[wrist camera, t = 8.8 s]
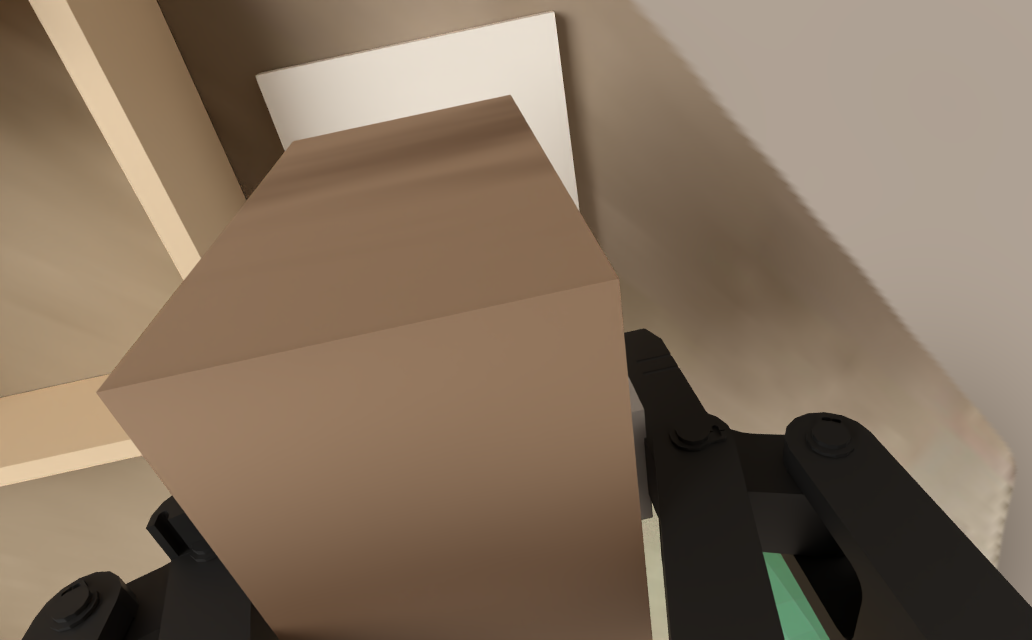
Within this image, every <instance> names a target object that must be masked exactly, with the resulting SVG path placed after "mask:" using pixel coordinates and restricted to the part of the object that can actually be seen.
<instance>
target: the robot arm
mask: <svg viewBox="0 0 1032 640" xmlns="http://www.w3.org/2000/svg"><path fill="white" fill-rule="evenodd" d="M624 338H625V349H626V360H627V370H628V381H629V392H630V403H631V414H632V424H633V435H634V446H635V457H636V468H637V478H638V489H639V500H640V511H641V520H643V519H647V518H652V517H653V515H652V504H653V506H654V508H655V511H656V513H657V516H658V518H659V528H660V542H661V556H662V564H663V576H664V587H665V599H666V610H667V621H668V633H669V640H785V638H784V634H783V630H782V626H781V622H780V618H779V615H778V611H777V607H776V603H775V599H774V595H773V591H772V587H771V583H770V579H769V575H768V571H767V567H766V563H765V559H764V555H763V552H767V553H779V554H781V555H782V557H783V559H784V561H785V562H786V564H787V566H788V568H789V569H790V571H791V573H792V575H793V576H794V578H795V580H796V582H797V583H798V585H799V587H800V588H801V590H802V592H803V594H804V595H805V597H806V599H807V601H808V602H809V604H810V606H811V608H812V609H813V611H814V613H815V615H816V616H817V618H818V620H819V622H820V623H821V625H822V627H823V629H824V630H825V632H826V634H827V636H828V637H829V639H830V640H1032V607H1031V606H1030V605H1029V604H1028V603H1027V602H1026V601H1025V600H1024V598H1023V597H1022V596H1021V595H1020V594H1019V593H1018V592H1017V591H1016V590H1015V589H1014V588H1013V586H1012V585H1011V584H1010V583H1009V582H1008V581H1007V580H1006V579H1005V578H1004V577H1003V576H1002V575H1001V573H1000V572H999V571H998V570H997V569H996V568H995V567H994V566H993V565H992V564H991V563H990V561H989V560H988V559H987V558H986V557H985V556H984V555H983V554H982V553H981V552H980V551H979V549H978V548H977V547H976V546H975V545H974V544H973V543H972V542H971V541H970V540H969V539H968V538H967V536H966V535H965V534H964V533H963V532H962V531H961V530H960V529H959V528H958V527H957V526H956V524H955V523H954V522H953V521H952V520H951V519H950V518H949V517H948V516H947V515H946V514H945V513H944V511H943V510H942V509H941V508H940V507H939V506H938V505H937V504H936V503H935V502H934V501H933V499H932V498H931V497H930V496H929V495H928V494H927V493H926V492H925V491H924V490H923V489H922V487H921V486H920V485H919V484H918V483H917V482H916V481H915V480H914V479H913V478H912V477H911V476H910V474H909V473H908V472H907V471H906V470H905V469H904V468H903V467H902V466H901V465H900V464H899V462H898V461H897V460H896V459H895V458H894V457H893V456H892V455H891V454H890V453H889V452H888V451H887V449H886V448H885V447H884V446H883V445H882V444H881V443H880V442H879V441H878V440H877V439H876V437H875V436H874V435H873V434H872V433H871V432H870V431H869V430H867V429H866V428H865V427H863V426H862V425H861V424H860V423H858V422H856V421H854V420H852V419H849V418H847V417H844V416H842V415H837V414H831V413H825V412H822V413H808V414H805V415H803V416H800V417H797V418H795V419H794V420H793V421H792V422H791V423H790V424H789V425H788V426H787V428H786V433H785V435H772V434H751V433H742V432H739V431H735V430H731V429H730V428H729V426H728V425H727V424H726V423H724V422H723V421H722V420H720V419H719V418H718V417H716V416H713V415H710V414H708V413H707V412H706V411H705V409H704V407H703V406H702V404H701V403H700V401H699V399H698V398H697V396H696V394H695V393H694V391H693V390H692V388H691V386H690V385H689V383H688V381H687V380H686V378H685V377H684V375H683V373H682V372H681V370H680V368H678V365H677V364H676V362H675V360H674V359H673V357H672V356H671V355H670V352H669V351H668V349H667V347H666V346H665V344H664V342H663V341H662V339H661V338H659V337H657V336H656V335H654V334H653V333H651V332H650V331H648V330H646V329H645V328H644V329H640V330H635V331H631V332H626V333H624ZM651 501H652V502H651ZM146 529H147V530H148V531H149V533H150V534H151V535H152V536H153V538H154V539H155V540H156V541H157V543H158V544H159V545H160V546H161V548H162V549H163V550H164V551H165V553H166V554H167V555H168V556H169V558H170V559H171V562H170V563H168V564H166V565H165V566H163V567H161V568H159V569H157V570H154V571H152V572H150V573H148V574H146V575H144V576H142V577H140V578H138V579H135V580H133V581H131V582H129V583H127V584H125V583H124V582H123V581H122V580H121V578H120V577H119V576H117V575H115V574H114V573H112V572H110V571H107V572H95V573H93V574H90V575H87V576H85V577H82V578H79V579H78V580H76V581H74V582H73V583H71V584H70V585H68V586H66V587H65V588H63V589H62V590H61V591H60V592H58V593H57V594H56V595H55V596H54V597H53V598H52V599H51V600H49V601H48V602H47V603H46V604H45V606H44V607H43V608H42V610H41V611H40V612H39V613H38V615H37V616H36V617H35V619H34V620H33V622H32V624H31V625H30V627H29V629H28V630H27V632H26V633H25V635H24V637H23V638H22V640H279V638H278V637H277V636H276V634H275V633H274V632H273V630H272V629H271V628H270V626H269V625H268V624H267V622H266V621H265V620H264V618H263V617H262V615H261V614H260V613H259V611H258V610H257V609H256V607H255V606H254V605H253V603H252V602H251V601H250V599H249V598H248V597H247V595H246V594H245V593H244V591H243V590H242V589H241V587H240V586H239V585H238V583H237V582H236V580H235V579H234V578H233V576H232V575H231V574H230V572H229V571H228V570H227V568H226V567H225V566H224V564H223V563H222V562H221V560H220V559H219V558H218V556H217V555H216V554H215V552H214V551H213V550H212V548H211V547H210V545H209V544H208V543H207V541H206V540H205V539H204V537H203V536H202V535H201V533H200V532H199V531H198V529H197V528H196V527H195V525H194V524H193V523H192V521H191V520H190V519H189V517H188V516H187V515H186V513H185V512H184V510H183V509H182V508H181V506H180V505H179V504H178V502H177V501H176V500H175V498H174V497H173V496H171V497H170V498H168V499H167V500H166V501H164V502H163V503H162V504H161V505H160V506H159V508H158V509H157V510H156V511H155V512H154V513H153V515H152V516H151V518H150V520H149V523H148V525H147V527H146Z"/></svg>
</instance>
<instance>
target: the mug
mask: <svg viewBox="0 0 1032 640" xmlns="http://www.w3.org/2000/svg"><path fill="white" fill-rule="evenodd" d="M763 555H764V559H765V563H766V567H767V571H768V575H769V579H770V583H771V587H772V591H773V595H774V599H775V603H776V607H777V611H778V615H779V618H780V622H781V626H782V630H783V634H784V638H785V640H830V639H829V637H828V636H827V634H826V632H825V630H824V629H823V627H822V625H821V623H820V622H819V620H818V618H817V616H816V615H815V613H814V611H813V609H812V608H811V606H810V604H809V602H808V601H807V599H806V597H805V595H804V594H803V592H802V590H801V588H800V587H799V585H798V583H797V582H796V580H795V578H794V576H793V575H792V573H791V571H790V569H789V568H788V566H787V564H786V562H785V561H784V559H783V557H782V555H781V554H779V553H767V552H763Z"/></svg>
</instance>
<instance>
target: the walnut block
mask: <svg viewBox="0 0 1032 640" xmlns="http://www.w3.org/2000/svg"><path fill="white" fill-rule="evenodd" d="M96 393H97V395H98V396H99V397H100V399H101V400H102V401H103V403H104V404H105V405H106V407H107V408H108V410H109V411H110V412H111V414H112V415H113V416H114V418H115V419H116V420H117V422H118V423H119V424H120V426H121V427H122V428H123V430H124V431H125V432H126V434H127V435H128V436H129V438H130V439H131V440H132V442H133V443H134V445H135V446H136V447H137V449H138V450H139V451H140V453H141V454H142V455H143V457H144V458H145V459H146V461H147V462H148V463H149V465H150V466H151V467H152V469H153V470H154V471H155V473H156V474H157V475H158V477H159V478H160V480H161V481H162V482H163V484H164V485H165V486H166V488H167V489H168V490H169V492H170V493H171V494H172V496H173V497H174V498H175V500H176V501H177V502H178V504H179V505H180V506H181V508H182V509H183V510H184V512H185V513H186V515H187V516H188V517H189V519H190V520H191V521H192V523H193V524H194V525H195V527H196V528H197V529H198V531H199V532H200V533H201V535H202V536H203V537H204V539H205V540H206V541H207V543H208V544H209V545H210V547H211V548H212V550H213V551H214V552H215V554H216V555H217V556H218V558H219V559H220V560H221V562H222V563H223V564H224V566H225V567H226V568H227V570H228V571H229V572H230V574H231V575H232V576H233V578H234V579H235V580H236V582H237V583H238V585H239V586H240V587H241V589H242V590H243V591H244V593H245V594H246V595H247V597H248V598H249V599H250V601H251V602H252V603H253V605H254V606H255V607H256V609H257V610H258V611H259V613H260V614H261V615H262V617H263V618H264V620H265V621H266V622H267V624H268V625H269V626H270V628H271V629H272V630H273V632H274V633H275V634H276V636H277V637H278V638H279V640H652V630H651V619H650V608H649V597H648V586H647V576H646V565H645V554H644V543H643V532H642V522H641V511H640V500H639V489H638V478H637V468H636V457H635V446H634V435H633V424H632V414H631V403H630V392H629V381H628V370H627V360H626V349H625V338H624V327H623V316H622V306H621V295H620V284H619V278H618V276H617V274H616V273H615V271H614V269H613V268H612V266H611V264H610V262H609V261H608V259H607V257H606V256H605V254H604V252H603V251H602V249H601V247H600V245H599V244H598V242H597V240H596V239H595V237H594V235H593V234H592V232H591V230H590V229H589V227H588V225H587V223H586V222H585V220H584V218H583V217H582V215H581V213H580V212H579V210H578V208H577V206H576V205H575V203H574V201H573V200H572V198H571V196H570V195H569V193H568V191H567V189H566V188H565V186H564V184H563V183H562V181H561V179H560V178H559V176H558V174H557V172H556V171H555V169H554V167H553V166H552V164H551V162H550V161H549V159H548V157H547V156H546V154H545V152H544V150H543V149H542V147H541V145H540V144H539V142H538V140H537V139H536V137H535V135H534V133H533V132H532V130H531V128H530V127H529V125H528V123H527V122H526V120H525V118H524V116H523V115H522V113H521V111H520V110H519V108H518V106H517V105H516V103H515V101H514V100H513V98H512V96H511V95H506V96H501V97H497V98H492V99H487V100H483V101H478V102H473V103H469V104H464V105H460V106H455V107H450V108H446V109H441V110H436V111H432V112H427V113H422V114H418V115H413V116H408V117H404V118H399V119H394V120H390V121H385V122H380V123H376V124H371V125H366V126H362V127H357V128H352V129H348V130H343V131H338V132H334V133H329V134H324V135H320V136H315V137H310V138H306V139H301V140H296V141H293V142H292V143H291V144H290V146H289V147H288V148H287V150H286V151H285V152H284V153H283V155H282V156H281V157H280V159H279V160H278V161H277V162H276V164H275V165H274V166H273V167H272V169H271V170H270V171H269V173H268V174H267V175H266V176H265V178H264V179H263V180H262V181H261V183H260V184H259V185H258V187H257V188H256V189H255V190H254V192H253V193H252V194H251V195H250V197H249V198H248V199H247V201H246V202H245V203H244V204H243V206H242V207H241V208H240V209H239V211H238V212H237V213H236V215H235V216H234V217H233V218H232V220H231V221H230V222H229V223H228V225H227V226H226V227H225V229H224V230H223V231H222V232H221V234H220V235H219V236H218V237H217V239H216V240H215V241H214V243H213V244H212V245H211V246H210V248H209V249H208V250H207V251H206V253H205V254H204V255H203V257H202V258H201V259H200V260H199V262H198V263H197V264H196V266H195V267H194V268H193V269H192V271H191V272H190V273H189V274H188V276H187V277H186V278H185V280H184V281H183V282H182V283H181V285H180V286H179V287H178V288H177V290H176V291H175V292H174V294H173V295H172V296H171V297H170V299H169V300H168V301H167V302H166V304H165V305H164V306H163V308H162V309H161V310H160V311H159V313H158V314H157V315H156V316H155V318H154V319H153V320H152V322H151V323H150V324H149V325H148V327H147V328H146V329H145V330H144V332H143V333H142V334H141V336H140V337H139V338H138V339H137V341H136V342H135V343H134V344H133V346H132V347H131V348H130V350H129V351H128V352H127V353H126V355H125V356H124V357H123V358H122V360H121V361H120V362H119V364H118V365H117V366H116V367H115V369H114V370H113V371H112V373H111V374H110V375H109V376H108V378H107V379H106V380H105V381H104V383H103V384H102V385H101V387H100V388H99V389H98V390H97V392H96Z"/></svg>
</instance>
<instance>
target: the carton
mask: <svg viewBox="0 0 1032 640" xmlns="http://www.w3.org/2000/svg"><path fill="white" fill-rule="evenodd" d="M29 2H30V4H31V6H32V7H33V9H34V11H35V13H36V15H37V16H38V18H39V20H40V22H41V24H42V25H43V27H44V29H45V31H46V33H47V34H48V36H49V38H50V40H51V42H52V44H53V45H54V47H55V49H56V51H57V53H58V54H59V56H60V58H61V60H62V62H63V63H64V65H65V67H66V69H67V71H68V72H69V74H70V76H71V78H72V80H73V81H74V83H75V85H76V87H77V89H78V90H79V92H80V94H81V96H82V98H83V99H84V101H85V103H86V105H87V107H88V109H89V110H90V112H91V114H92V116H93V118H94V119H95V121H96V123H97V125H98V127H99V128H100V130H101V132H102V134H103V136H104V137H105V139H106V141H107V143H108V145H109V146H110V148H111V150H112V152H113V154H114V155H115V157H116V159H117V161H118V163H119V164H120V166H121V168H122V170H123V172H124V174H125V175H126V177H127V179H128V181H129V183H130V184H131V186H132V188H133V190H134V192H135V193H136V195H137V197H138V199H139V201H140V202H141V204H142V206H143V208H144V210H145V211H146V213H147V215H148V217H149V219H150V220H151V222H152V224H153V226H154V228H155V229H156V231H157V233H158V235H159V237H160V238H161V240H162V242H163V244H164V246H165V248H166V249H167V251H168V253H169V255H170V257H171V258H172V260H173V262H174V264H175V266H176V267H177V269H178V271H179V273H180V275H181V276H182V278H183V280H185V278H186V277H187V276H188V274H189V273H190V272H191V271H192V269H193V268H194V267H195V266H196V264H197V263H198V262H199V260H200V259H201V258H202V257H203V255H204V254H205V253H206V251H207V250H208V249H209V248H210V246H211V245H212V244H213V243H214V241H215V240H216V239H217V237H218V236H219V235H220V234H221V232H222V231H223V230H224V229H225V227H226V226H227V225H228V223H229V222H230V221H231V220H232V218H233V217H234V216H235V215H236V213H237V212H238V211H239V209H240V208H241V207H242V206H243V204H244V203H245V202H246V198H245V196H244V194H243V192H242V190H241V187H240V185H239V183H238V181H237V178H236V176H235V174H234V172H233V169H232V167H231V165H230V163H229V161H228V158H227V156H226V154H225V152H224V149H223V147H222V145H221V143H220V141H219V138H218V136H217V134H216V132H215V129H214V127H213V125H212V123H211V121H210V118H209V116H208V114H207V112H206V109H205V107H204V105H203V103H202V101H201V98H200V96H199V94H198V92H197V89H196V87H195V85H194V83H193V81H192V78H191V76H190V74H189V72H188V69H187V67H186V65H185V63H184V61H183V58H182V56H181V54H180V52H179V49H178V47H177V45H176V43H175V41H174V38H173V36H172V34H171V32H170V29H169V27H168V25H167V23H166V21H165V18H164V16H163V14H162V12H161V9H160V7H159V5H158V3H157V0H29ZM109 375H110V374H108V375H103V376H98V377H94V378H89V379H85V380H80V381H76V382H71V383H66V384H62V385H57V386H53V387H48V388H43V389H39V390H34V391H30V392H25V393H20V394H16V395H11V396H7V397H2V398H0V486H5V485H10V484H14V483H19V482H23V481H28V480H32V479H37V478H42V477H46V476H51V475H55V474H60V473H64V472H69V471H73V470H78V469H83V468H87V467H92V466H96V465H101V464H105V463H110V462H114V461H119V460H124V459H128V458H133V457H137V456H142V454H141V453H140V451H139V450H138V449H137V447H136V446H135V445H134V443H133V442H132V440H131V439H130V438H129V436H128V435H127V434H126V432H125V431H124V430H123V428H122V427H121V426H120V424H119V423H118V422H117V420H116V419H115V418H114V416H113V415H112V414H111V412H110V411H109V410H108V408H107V407H106V405H105V404H104V403H103V401H102V400H101V399H100V397H99V396H98V395H97V393H96V392H97V390H98V389H99V388H100V387H101V385H102V384H103V383H104V381H105V380H106V379H107V378H108V376H109Z"/></svg>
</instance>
